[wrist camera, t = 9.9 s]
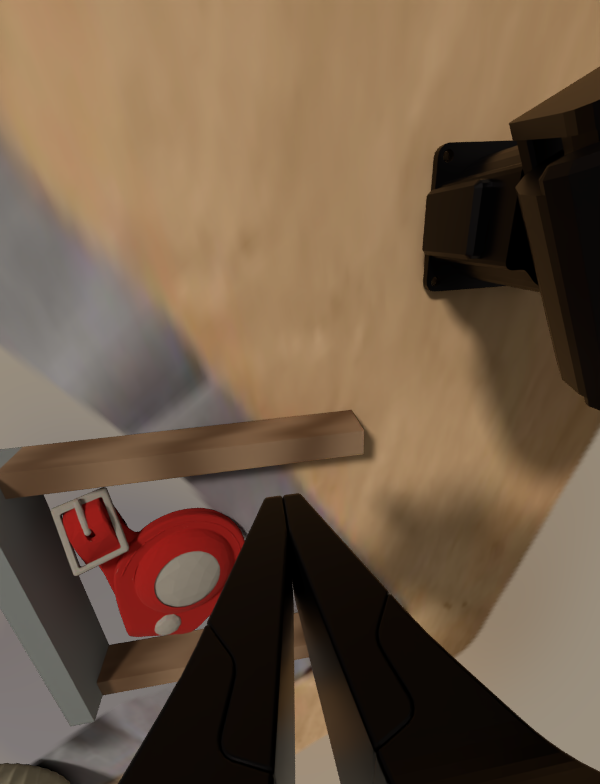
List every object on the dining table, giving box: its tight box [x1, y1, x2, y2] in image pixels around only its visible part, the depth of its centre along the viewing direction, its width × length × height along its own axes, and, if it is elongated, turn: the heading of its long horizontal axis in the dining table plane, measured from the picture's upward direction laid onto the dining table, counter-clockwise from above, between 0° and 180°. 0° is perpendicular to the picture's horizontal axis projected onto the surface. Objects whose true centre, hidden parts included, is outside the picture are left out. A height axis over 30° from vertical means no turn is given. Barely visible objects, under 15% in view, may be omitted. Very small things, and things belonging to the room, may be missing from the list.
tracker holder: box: [51, 487, 245, 637], centre depth 23 cm, size 12×4×10 cm
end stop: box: [0, 447, 109, 726], centre depth 22 cm, size 2×19×4 cm, turn 3°
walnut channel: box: [0, 410, 364, 695], centre depth 23 cm, size 18×19×2 cm
